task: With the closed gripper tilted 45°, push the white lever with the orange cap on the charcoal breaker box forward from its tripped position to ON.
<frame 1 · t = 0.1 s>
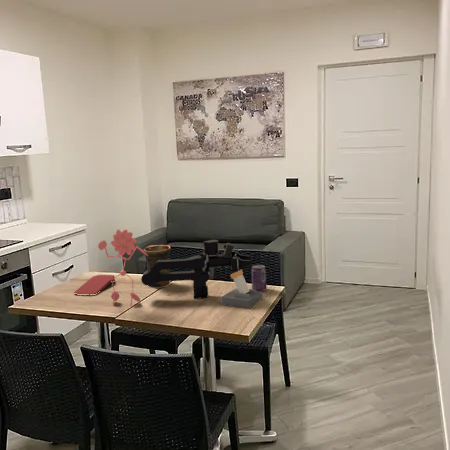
hand: (251, 259, 230), 17 cm above the table, tool horizontal, fingers open, 9 cm apart
vessel: (159, 284, 255), on the table
figurine: (129, 301, 230), on the table
breaker box: (245, 302, 221), on the table
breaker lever: (240, 282, 221), point 9 cm above the table, hinge at -24.7°, touching gripper
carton: (96, 289, 254), on the table
beverage can: (259, 290, 238), on the table
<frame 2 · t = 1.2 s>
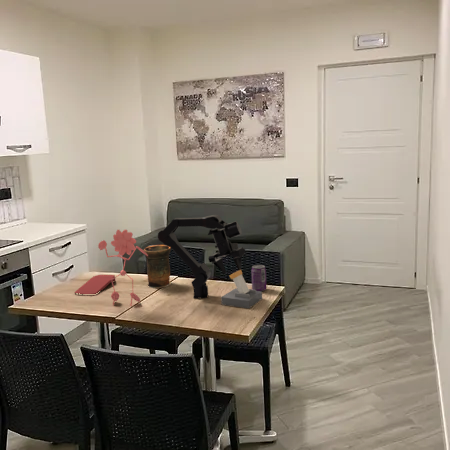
hand: (232, 271, 227), 12 cm above the table, tool tilted 15°, fingers open, 9 cm apart
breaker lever: (240, 282, 221), point 9 cm above the table, hinge at -27.2°, touching gripper
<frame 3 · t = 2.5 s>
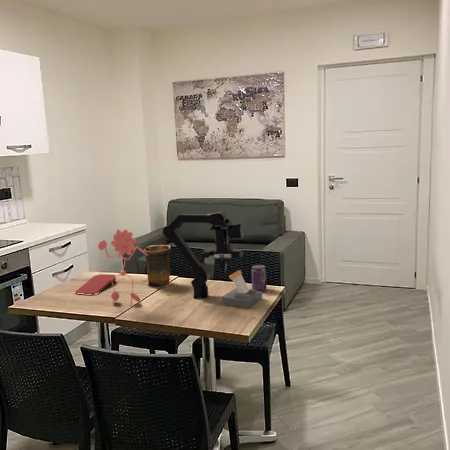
hand: (224, 271, 226), 13 cm above the table, tool pointing down, fingers closed
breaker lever: (239, 282, 221), point 9 cm above the table, hinge at -29.1°
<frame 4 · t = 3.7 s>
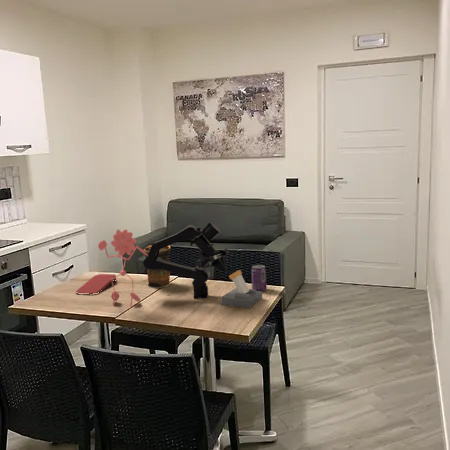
hand: (226, 271, 224), 13 cm above the table, tool tilted 45°, fingers closed
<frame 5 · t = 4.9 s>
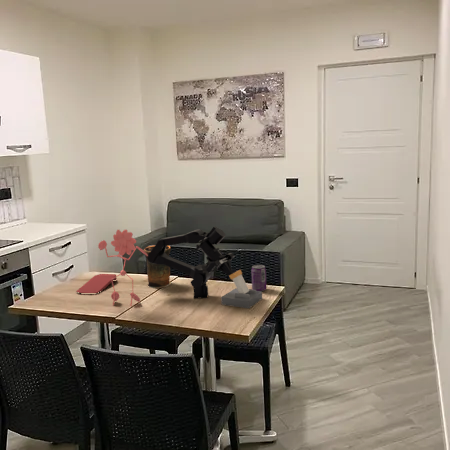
hand: (232, 276, 223), 12 cm above the table, tool tilted 45°, fingers closed, pressing on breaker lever
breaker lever: (239, 282, 221), point 9 cm above the table, hinge at -28.1°, touching gripper
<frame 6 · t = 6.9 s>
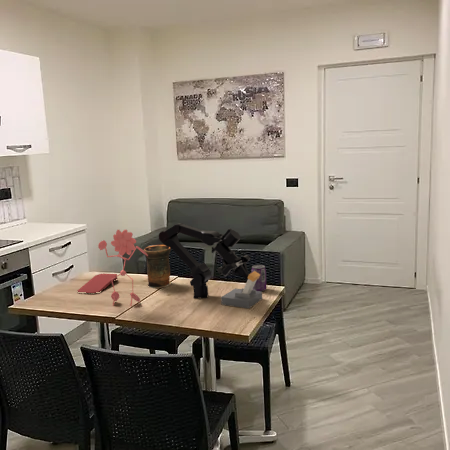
hand: (248, 279, 218), 11 cm above the table, tool tilted 45°, fingers closed
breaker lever: (250, 284, 218), point 9 cm above the table, hinge at 27.1°
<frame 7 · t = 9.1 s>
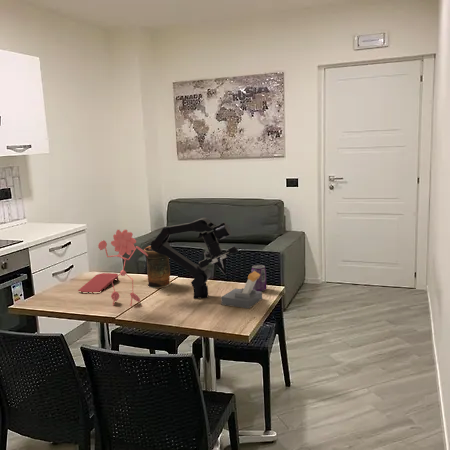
hand: (225, 273, 226), 12 cm above the table, tool tilted 25°, fingers closed
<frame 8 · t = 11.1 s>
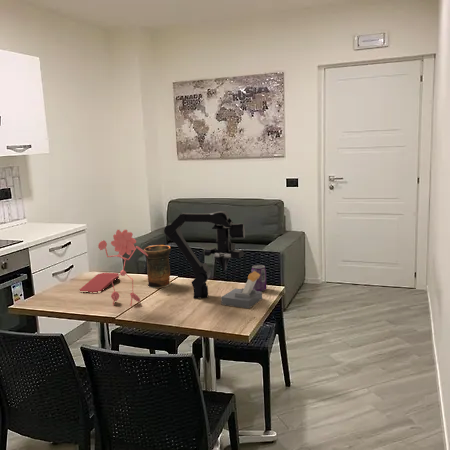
hand: (224, 270, 228), 13 cm above the table, tool pointing down, fingers closed
at the end: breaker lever at +27° (first picture: -25°); beverage can moved 0.2 cm from its start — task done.
